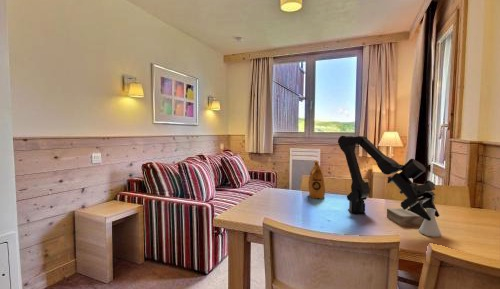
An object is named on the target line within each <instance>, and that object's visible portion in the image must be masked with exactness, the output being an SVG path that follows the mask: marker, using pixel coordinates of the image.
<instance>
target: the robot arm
mask: <svg viewBox="0 0 500 289" xmlns="http://www.w3.org/2000/svg"><path fill="white" fill-rule="evenodd" d="M337 144H338V146H339V149H340V150H341V151H342V152H343V154H344V155H345V160H346V163H347V167H348V170H349V175H350V178H351V186H350V190H351V191H350V193H348V194H347V195H346V199H347V201H348V202H349V203H348V208H347V211H348V212H350V214H352V215H366V203H365V201H366V200H367V198H368V197H369V195H370V193H371V188H370V184H369V182H368V181H365V180H364V179H363V177H362V173H361V170H360V166H359V162H358V158H357V155H356V148H357V145H358V146H360V147H361V148H362V149H363V151H365V152H366V153H367V154H368V155H369V156H370V157H371V158H372V159H373V160H374V161H375V162H376V165H377V168H378V169H379V170H380V172H381V173H382V174H384V175H386V176H387V175H390V176H388V177H387V181H386V182H387V184H389V183H390V184H391V183H394V185H395V186H396V187H397V188H398V189H399V193H400V194H401V195H404V196H405V197H406V198H405V199H404V200H403V201H401V202H400V207H401V209H404V210H405V209H407V210H408V211H411V212H413V213H415V214H417V215H419V216H421V217H423V218H424V219H426V220H428V221H430V220H431V218H430V216H429V215H428V213H427V212H426V208H432V209H435V210H436V211H435V218H436V217H437V218H438V217H440V213H439V211H438V209H437V208H436V205H435V203H434V200H435V197H436V194H435V193H434V191H436V188H435V186H436V183H434V182H433V181H431V180H424V181H423V184H420V185H419V184H418V183H416V182H412V180H415V179H417V178H418V177H419V176H421V175H422V174H424V173H425V172H426V171H427V169H426V167H425V165H424V164H423V163H422V162H419V161H418V160H416V159H415V158H410V159H409V160H408V161H407V162H405V164H400V163H398V162H397V161H396V160H395V159H393V158H392V157H390V156H387V155H385V154H384V153H383V152H382V151H381V150H380V149H379V148H378V147H377V146H375V144H374V143H372V142H371V141H370V140H369V139H368V137H366V136H365V135H357V136H353V135H340V136H339V138H338V139H337ZM391 175H392V176H391ZM411 179H412V180H411Z"/></svg>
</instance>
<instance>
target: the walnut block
mask: <svg viewBox="0 0 500 289" xmlns="http://www.w3.org/2000/svg"><path fill="white" fill-rule="evenodd" d="M407 209H408V208H407ZM407 209H405V210H404V209H403V208H386V217H387V218H388V219H389V220H391V221H393V222H394V223H395V224H397V225H398V226H421V225H422V223H423V221H424V218H423V217H421V216H419V215H417V214H415V213H413V212H411V211H408V210H407Z"/></svg>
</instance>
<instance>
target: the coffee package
mask: <svg viewBox="0 0 500 289" xmlns="http://www.w3.org/2000/svg"><path fill="white" fill-rule="evenodd" d="M313 163H314V165H313V167H312V168H311V170H310V171H309V177H308V193H309V197H310V198H311V199H315V198H323V199H324V198H325V195H326V186H325V184H326V183H325V179H324V178H325V177H324V173H323V170H322V166H321V165H320V164H319V163H320V161H319V160H316V159H315V160H314V161H313Z"/></svg>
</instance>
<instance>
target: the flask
mask: <svg viewBox="0 0 500 289" xmlns="http://www.w3.org/2000/svg"><path fill="white" fill-rule="evenodd" d="M425 211H426V212H427V213H428V215H429V216H430V218H431V220H430V221H428V220H426V219H424V221H423V223H422V225H420V227H419V228H418V232H419V234H421V235H425V236H427V237H435V238H438V237H442V232H441V231H440V228H439V225H438V222H437V219H436V216H435V211H436V210H435V209H432V208H426V209H425Z"/></svg>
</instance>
